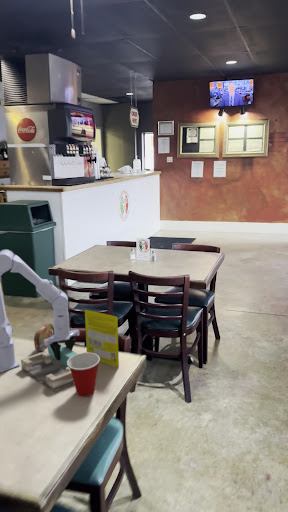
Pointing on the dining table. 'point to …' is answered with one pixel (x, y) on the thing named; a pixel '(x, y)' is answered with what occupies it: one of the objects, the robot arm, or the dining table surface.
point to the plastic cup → (84, 372)
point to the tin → (43, 336)
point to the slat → (62, 354)
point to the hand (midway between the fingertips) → (63, 357)
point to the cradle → (47, 371)
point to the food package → (102, 336)
